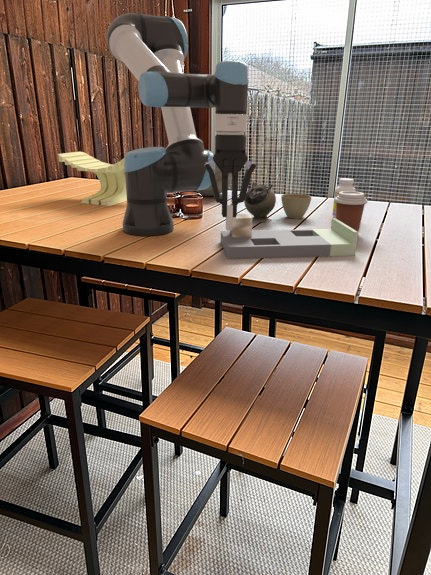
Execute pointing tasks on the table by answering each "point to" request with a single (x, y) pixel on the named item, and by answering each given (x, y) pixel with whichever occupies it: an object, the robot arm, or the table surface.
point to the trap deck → (292, 243)
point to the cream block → (242, 226)
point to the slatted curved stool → (100, 177)
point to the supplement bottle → (344, 185)
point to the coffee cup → (350, 208)
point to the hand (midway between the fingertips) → (228, 229)
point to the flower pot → (295, 204)
